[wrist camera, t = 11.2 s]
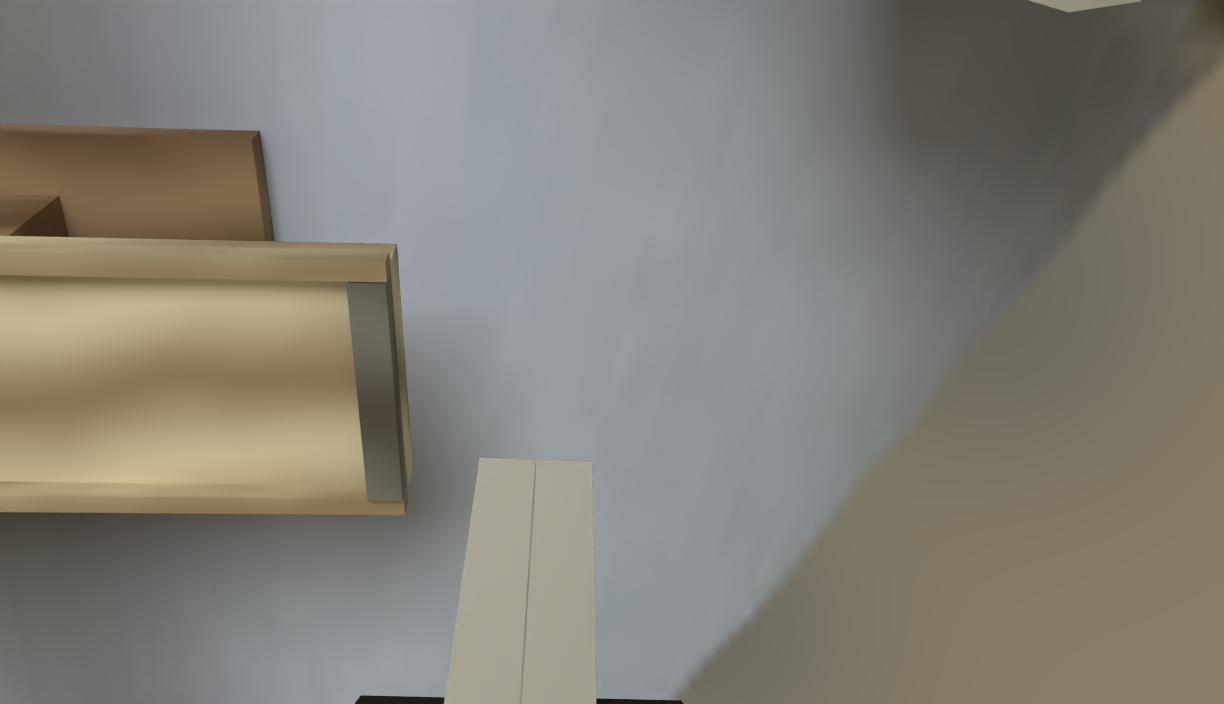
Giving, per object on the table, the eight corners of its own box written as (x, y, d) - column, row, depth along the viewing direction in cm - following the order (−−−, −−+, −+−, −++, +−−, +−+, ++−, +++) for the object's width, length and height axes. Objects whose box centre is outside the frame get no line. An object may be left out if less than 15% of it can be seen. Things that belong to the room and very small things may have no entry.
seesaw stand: (-200, 120, 40) (-383, 198, 32) (259, 131, 41) (189, 209, 33) (-122, 340, 45) (-265, 455, 37) (288, 345, 46) (232, 457, 38)
